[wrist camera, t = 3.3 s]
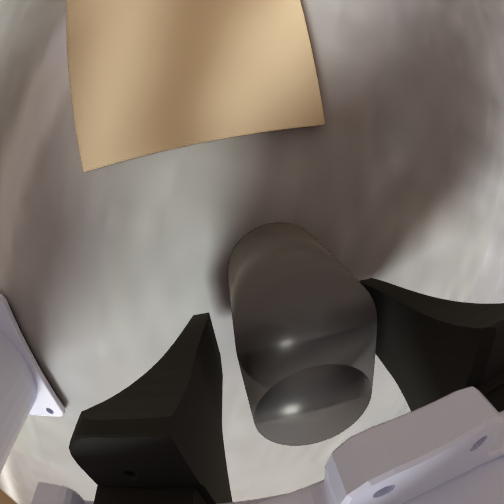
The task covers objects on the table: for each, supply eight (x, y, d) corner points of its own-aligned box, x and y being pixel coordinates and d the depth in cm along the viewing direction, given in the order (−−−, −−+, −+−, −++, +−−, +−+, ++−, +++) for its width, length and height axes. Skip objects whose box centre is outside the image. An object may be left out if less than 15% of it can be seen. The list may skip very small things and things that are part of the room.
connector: (218, 233, 12) (221, 288, 7) (319, 214, 12) (377, 256, 8) (255, 399, 15) (269, 477, 10) (329, 382, 15) (362, 453, 11)
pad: (89, 171, 11) (83, 172, 10) (72, -16, 8) (67, -22, 7) (320, 125, 11) (325, 124, 11) (278, -57, 8) (281, -64, 8)
